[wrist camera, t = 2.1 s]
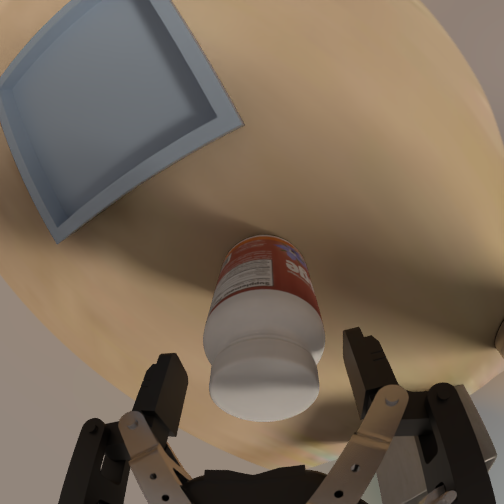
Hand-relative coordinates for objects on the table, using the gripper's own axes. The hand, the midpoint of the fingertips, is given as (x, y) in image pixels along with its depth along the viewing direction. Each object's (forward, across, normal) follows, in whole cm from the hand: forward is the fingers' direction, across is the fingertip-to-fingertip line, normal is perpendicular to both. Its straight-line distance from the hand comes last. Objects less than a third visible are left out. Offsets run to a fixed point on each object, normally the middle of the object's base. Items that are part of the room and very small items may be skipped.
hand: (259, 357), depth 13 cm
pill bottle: (+9, 0, 0) cm, 9 cm away
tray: (+9, +9, -16) cm, 20 cm away
